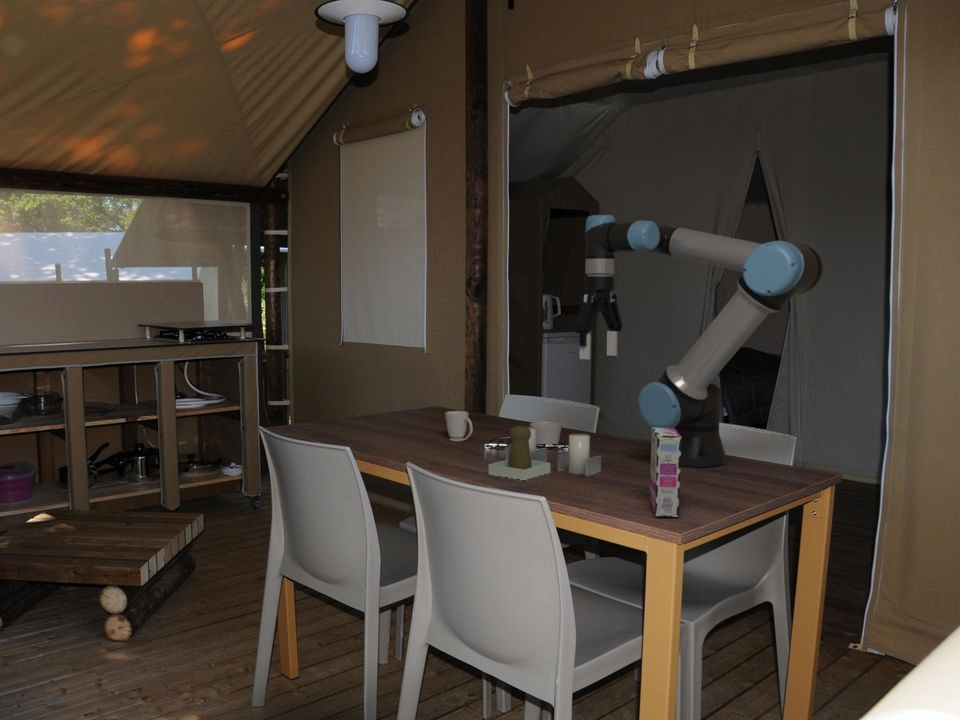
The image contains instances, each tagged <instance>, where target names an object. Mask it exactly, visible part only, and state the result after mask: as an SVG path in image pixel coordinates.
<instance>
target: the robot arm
mask: <svg viewBox="0 0 960 720" xmlns="http://www.w3.org/2000/svg"><path fill="white" fill-rule="evenodd" d="M584 234H585V235H584V237H585V242H584V243H585V263H584V267H585V269H584V270H585V272H584V273H585V275H587V276H585V277H584V290H585V291H586V292H588V294H581V299H580V306H579V308H578V312H577V313H578V314H577V317H576V320H575V324H574V329H573V330H574V332H575V333H576V334H578V335H579V360H591V333H589V331H590V330H591V327H592V325H593V323H594V321H595V319H596V316H597V314H599V313H601V315H602V317H603V319H604V321H605V323H606V325H607V328H608V330H607V331H606V356H609V357H610V356H611V357H612V356H615V357H617V356H618V332H621V331H622V329H623V322H622V317H621V315H620V310H619V305H618V299H617V297H618V296H617V294H616V293H610V292H611V291H614V290H615V277H614V276H613V275H614V274H615V253H625V252H626V253H629V252H630V253H653V254H654V253H655V254H659V255H660V254H661V255H665V256H669V257H675V258H680V259H684V260H687V261H691V262H692V261H693V262H696V263H700V264H701V263H702V264H706V265H710V266H714V267H719V268H724V269H728V270H733V271H736V272H741V275H740V276H739V278H738V279H737V280H736V284H737V290H736V292H735V293H734V294H733V296H732V297H731V298H730V299H729V301H727V303H726V304H725V305H724V306H723V308H722V309H721V311H720V312H719V313H718V315H716V317H715V318H714V319H713V321H712V322H711V323H710V324H709V326H708V327H707V328H706V329H705V331H704V332H703V333H702V335H700V337H698V339H697V340H696V342H695V343H693V345H692V346H691V348H690V349H689V350H688V352H687V353H686V354H685V356H684V357H683V358H682V359H681V360H680V362H679V363H678V364H675V365H673V364H672V365H668V367H667V368H666V369H665V370H664V371H663V373H662V374H661V375H660V376H659V378H658V379H657V380H656V381H653V382H652V381H651V382H650V383H648V384H646V385H644V386H643V388H642V389H641V391H639V392H640V393H639V394H638V399H637V405H638V412H639V413H640V416H641V418H642V419H643V421H644V422H645V423H646V424H647V425H648V426H650V427H651V428H674V429H675V430H676V431H677V432H678V434H679V435H680V436H681V437H682V439H681V466H684V467H690V468H692V467H693V468H694V467H695V468H711V467H712V466H713V467H719V465H720V466H723V465H725V464H726V451H725V449H724V445H723V442H722V438H721V435H720V417H721V416H720V413H721V412H720V411H721V410H720V409H721V391H722V388H721V379H720V377H719V376H718V375H719V373H720V372H721V371H722V370H723V368H724V367H725V366H726V365H727V363H729V361H730V360H731V359H732V358H733V356H735V354H736V353H737V351H739V350H740V349H741V347H742V346H743V345H744V343H745V342H746V341H747V340H748V339H749V337H750V336H752V334H753V333H754V332H755V331H756V329H757V328H758V327H759V326H760V325H761V323H762V322H763V321H764V320H765V318H766V317H767V316H768V314H770V313H778V312H780V311H781V310H782V309H783V308H784V307H785V306H786V305H787V303H788V302H789V301H790V300H791V299H792V298H793V296H794V295H802V294H806V293H807V292H810V291H811V290H813V289H814V288H815V287H816V286H818V284H820V282H821V280H822V278H823V275H824V271H825V270H824V268H825V267H824V261H823V258H822V256H821V255H820V253H819V251H817V250H816V249H815V248H813V247H812V246H810V245H808V244H805V243H797V242H788V241H783V240H774V241H770V242H769V241H768V242H765V243H759V242H754V241H749V240H745V239H739V238H734V237H729V236H724V235H718V234H714V233H709V232H704V231H698V230H694V229H689V228H683V227H677V226H675V225H672V224H668V223H655V222H654V221H652V220H637V221H636V220H635V221H623V222H616V217H615V216H614V215H612V214H595V215H594V214H593V215H590V216H588V217H587V218H586V220H585V231H584Z"/></svg>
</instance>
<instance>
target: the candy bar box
mask: <svg viewBox="0 0 960 720" xmlns="http://www.w3.org/2000/svg"><path fill="white" fill-rule="evenodd" d="M681 439H682V437H681V436H680V435H679V434H678V432H677V431H676V430H675V429H674V428H653V427H651V443H650V444H651V446H650V448H651V449H650V476H649V477H650V482H649V505H650V508H651V507H652V508H651V509H652V513H653V512H654V513H653V515H654V514H655V515H654V517H655V516H663V517H679V518H680V500H681V499H680V492H681V466H682V465H681Z"/></svg>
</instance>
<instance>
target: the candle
mask: <svg viewBox="0 0 960 720" xmlns="http://www.w3.org/2000/svg"><path fill="white" fill-rule="evenodd" d="M562 425H563V424H562V423H560V422H554V421H536V422H534V421H533V422H531V423H529V427H533V428H536V444H546V445H552V444H558V445H559V443H560V438H561V437H560V436H561V432H562V427H563V426H562Z"/></svg>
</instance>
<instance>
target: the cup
mask: <svg viewBox="0 0 960 720" xmlns="http://www.w3.org/2000/svg"><path fill="white" fill-rule="evenodd" d="M444 415H445V416H444V417H445V421H446V427H447V428H446V429H447V433H448V436H449V437H450V438H449V440H450V441H452V442H453V441H454V442H460V441H461V442H464V441H466V440H468V439H469V438H470V437H471V435H472V434H473V431H474V430H473V429H474V428H473V424H472V423H473V422H472V421H471V419H470V418H469V412H468V411H465V410H451V411H450V410H449V411H446V412H444ZM468 424H469V433H468V434H467V436H466V437H465V435H466V432H467V426H468Z"/></svg>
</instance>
